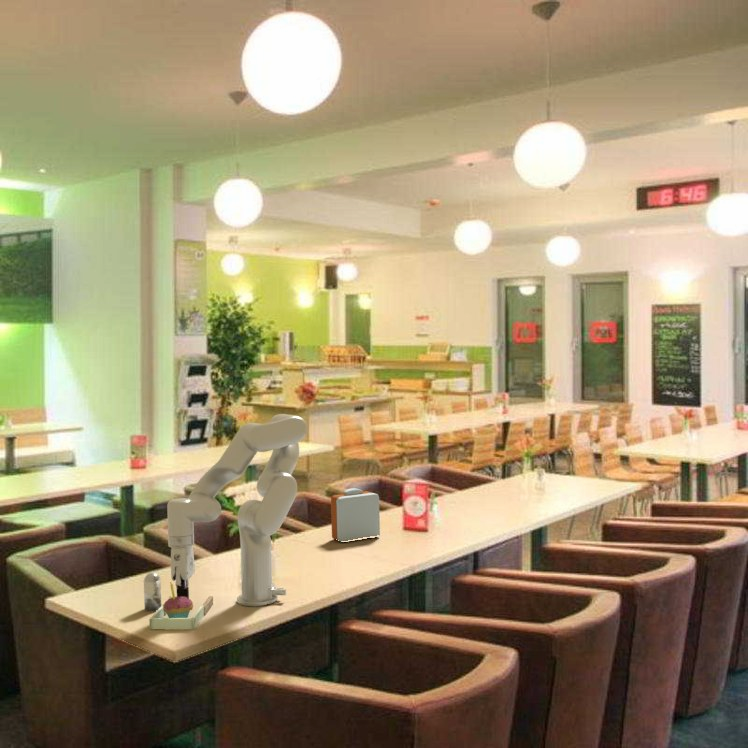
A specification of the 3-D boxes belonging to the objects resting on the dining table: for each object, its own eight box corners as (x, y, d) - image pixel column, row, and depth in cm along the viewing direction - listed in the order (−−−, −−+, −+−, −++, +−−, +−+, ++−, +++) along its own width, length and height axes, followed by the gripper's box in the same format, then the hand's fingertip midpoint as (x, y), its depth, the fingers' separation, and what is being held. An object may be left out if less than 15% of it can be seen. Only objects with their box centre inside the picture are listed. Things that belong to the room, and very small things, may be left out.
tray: (204, 615, 247) (203, 605, 247) (194, 629, 235) (194, 618, 235) (161, 615, 248) (161, 606, 248) (149, 629, 236) (149, 619, 236)
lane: (213, 604, 258) (213, 596, 258) (205, 615, 247) (205, 607, 247) (170, 604, 258) (170, 596, 258) (160, 616, 248) (160, 607, 248)
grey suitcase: (370, 534, 350) (369, 485, 350) (380, 537, 343) (379, 488, 342) (331, 539, 341) (329, 490, 340) (341, 544, 333) (339, 493, 333)
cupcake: (170, 628, 237) (169, 586, 236) (158, 620, 243) (157, 580, 243) (198, 621, 242) (197, 580, 241) (186, 614, 248) (184, 574, 248)
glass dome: (163, 606, 257) (162, 570, 257) (158, 611, 252) (157, 575, 252) (147, 606, 257) (146, 570, 257) (142, 611, 252) (141, 575, 252)
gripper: (187, 546, 240) (189, 608, 241) (199, 534, 255) (201, 593, 255) (161, 546, 240) (163, 609, 241) (175, 534, 255) (177, 593, 256)
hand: (182, 601), depth 248 cm, fingers closed
